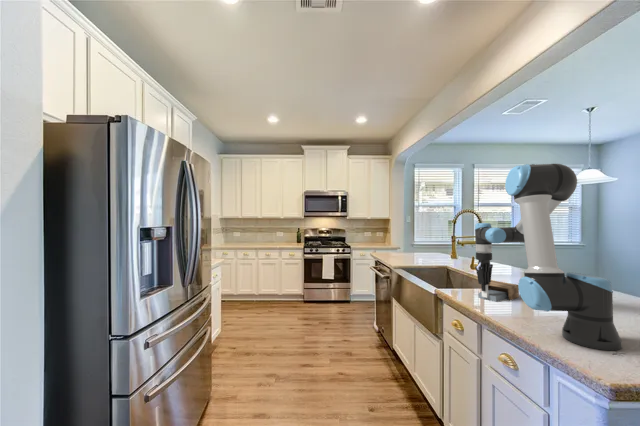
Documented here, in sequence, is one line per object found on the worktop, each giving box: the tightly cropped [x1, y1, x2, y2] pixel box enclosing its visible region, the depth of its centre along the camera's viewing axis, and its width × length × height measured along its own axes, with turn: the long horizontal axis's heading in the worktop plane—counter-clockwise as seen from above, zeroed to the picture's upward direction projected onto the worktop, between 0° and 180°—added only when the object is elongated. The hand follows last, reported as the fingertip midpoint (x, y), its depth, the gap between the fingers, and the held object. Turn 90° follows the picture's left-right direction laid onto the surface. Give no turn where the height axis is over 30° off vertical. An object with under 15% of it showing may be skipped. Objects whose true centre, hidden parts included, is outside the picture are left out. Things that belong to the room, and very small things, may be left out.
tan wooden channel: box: [488, 279, 520, 301], centre depth 157 cm, size 8×15×7 cm, turn 31°
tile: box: [478, 290, 509, 303], centre depth 153 cm, size 12×9×3 cm
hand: (485, 296), depth 150 cm, fingers closed
